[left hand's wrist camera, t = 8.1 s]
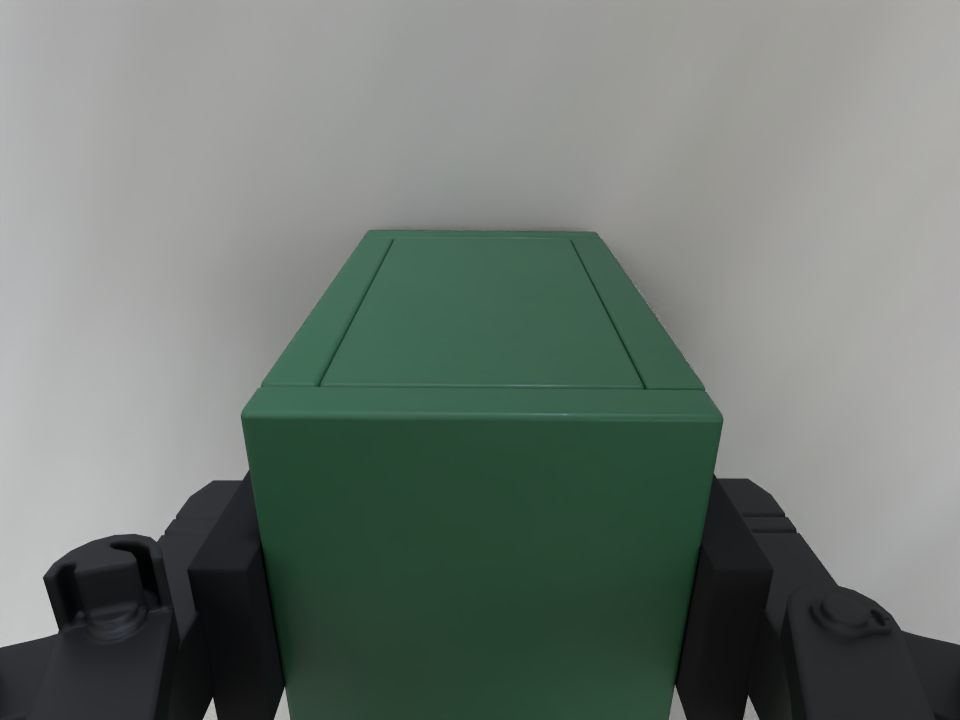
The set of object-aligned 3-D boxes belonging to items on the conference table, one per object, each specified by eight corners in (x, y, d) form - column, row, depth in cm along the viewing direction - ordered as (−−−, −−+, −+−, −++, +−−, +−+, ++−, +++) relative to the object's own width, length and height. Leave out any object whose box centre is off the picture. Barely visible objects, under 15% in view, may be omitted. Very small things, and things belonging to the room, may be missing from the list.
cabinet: (556, 728, 24) (599, 1107, 15) (399, 727, 24) (351, 1105, 15) (597, 231, 17) (727, 416, 8) (367, 229, 17) (237, 412, 8)
